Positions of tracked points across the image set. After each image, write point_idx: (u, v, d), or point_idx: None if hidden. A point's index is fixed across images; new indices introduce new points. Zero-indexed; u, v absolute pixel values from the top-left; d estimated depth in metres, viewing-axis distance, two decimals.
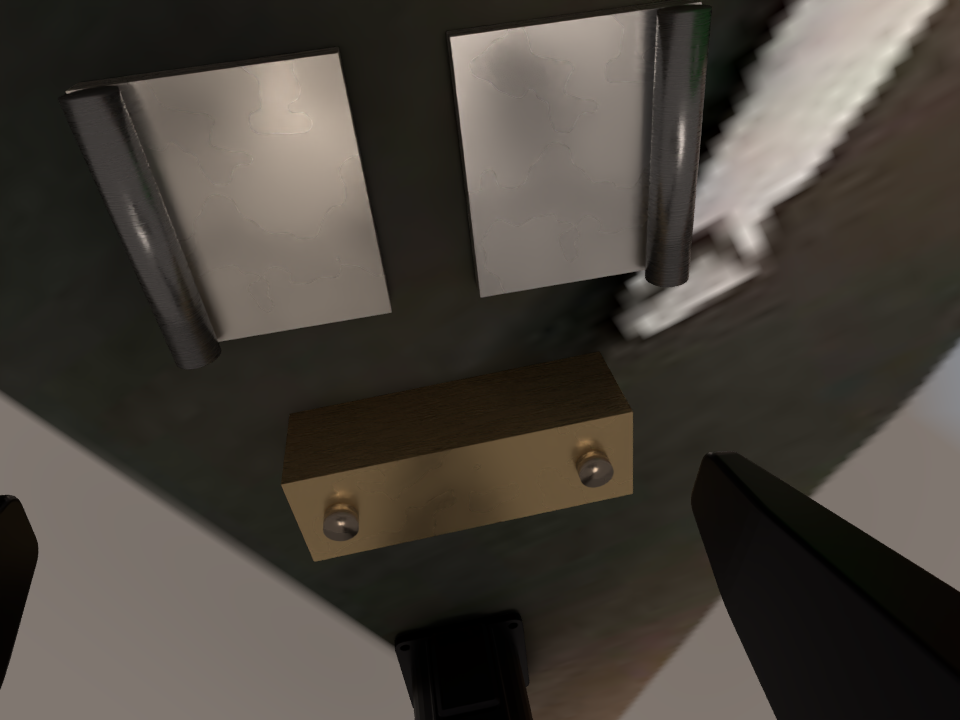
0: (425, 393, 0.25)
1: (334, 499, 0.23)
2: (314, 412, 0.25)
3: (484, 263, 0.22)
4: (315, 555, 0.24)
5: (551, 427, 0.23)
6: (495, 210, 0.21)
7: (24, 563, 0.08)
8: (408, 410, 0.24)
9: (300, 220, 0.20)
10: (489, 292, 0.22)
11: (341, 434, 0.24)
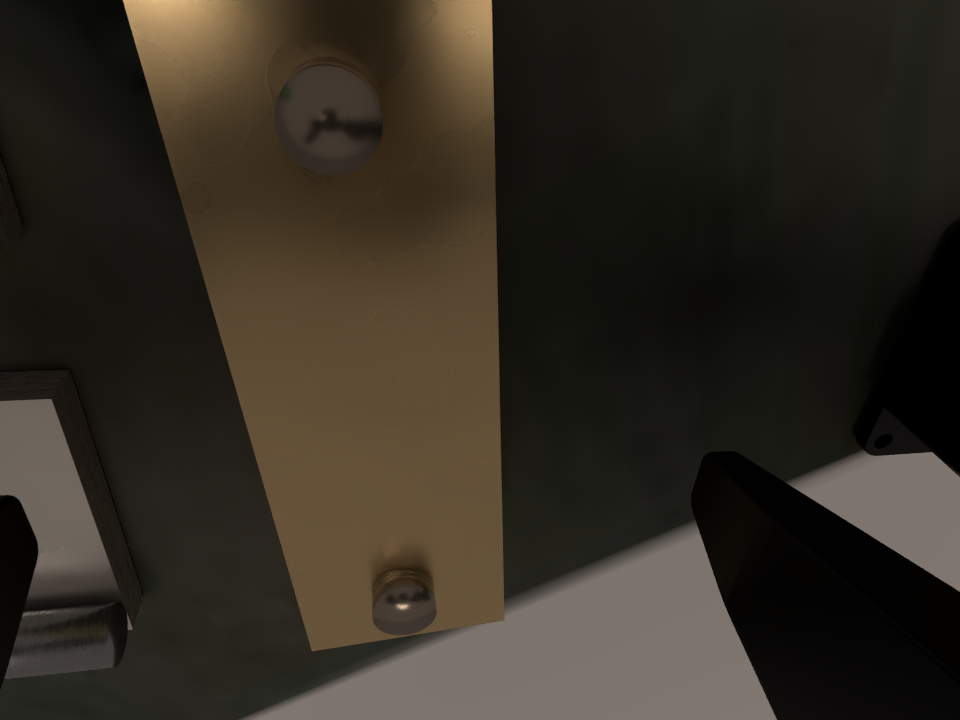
0: None
1: (358, 596, 0.13)
2: None
3: None
4: (489, 618, 0.14)
5: (190, 226, 0.09)
6: None
7: (24, 563, 0.08)
8: None
9: None
10: None
11: None
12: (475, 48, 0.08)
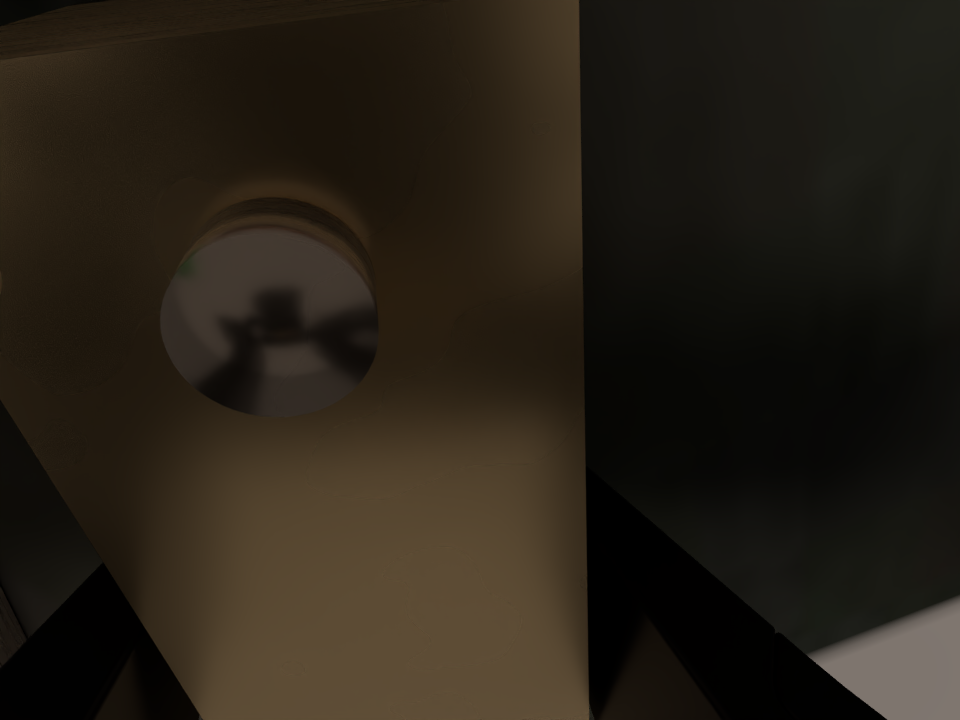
0: None
1: None
2: None
3: None
4: None
5: (59, 483, 0.05)
6: None
7: None
8: None
9: None
10: None
11: None
12: (548, 156, 0.04)
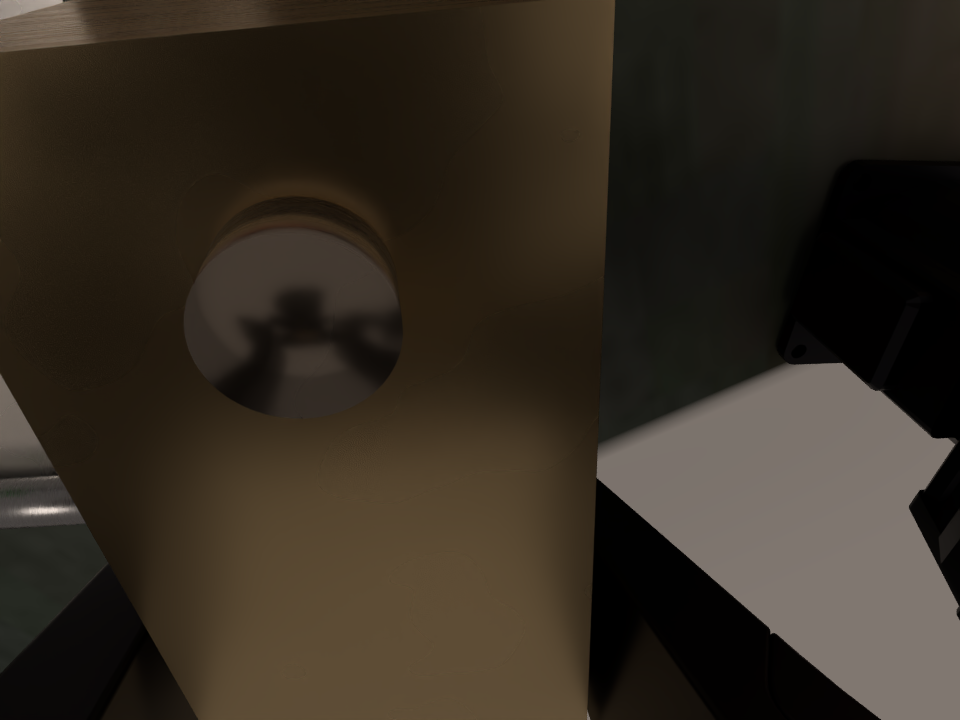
0: None
1: None
2: None
3: None
4: None
5: (67, 480, 0.05)
6: None
7: None
8: None
9: None
10: None
11: None
12: (576, 163, 0.04)
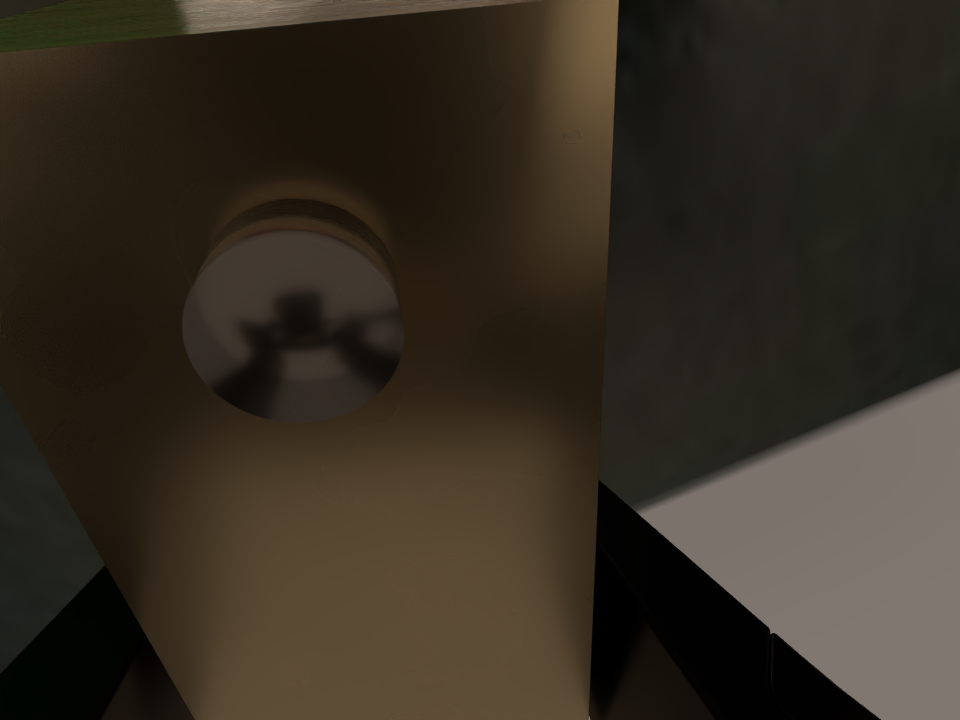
0: None
1: None
2: None
3: None
4: None
5: (65, 485, 0.05)
6: None
7: None
8: None
9: None
10: None
11: None
12: (578, 165, 0.04)
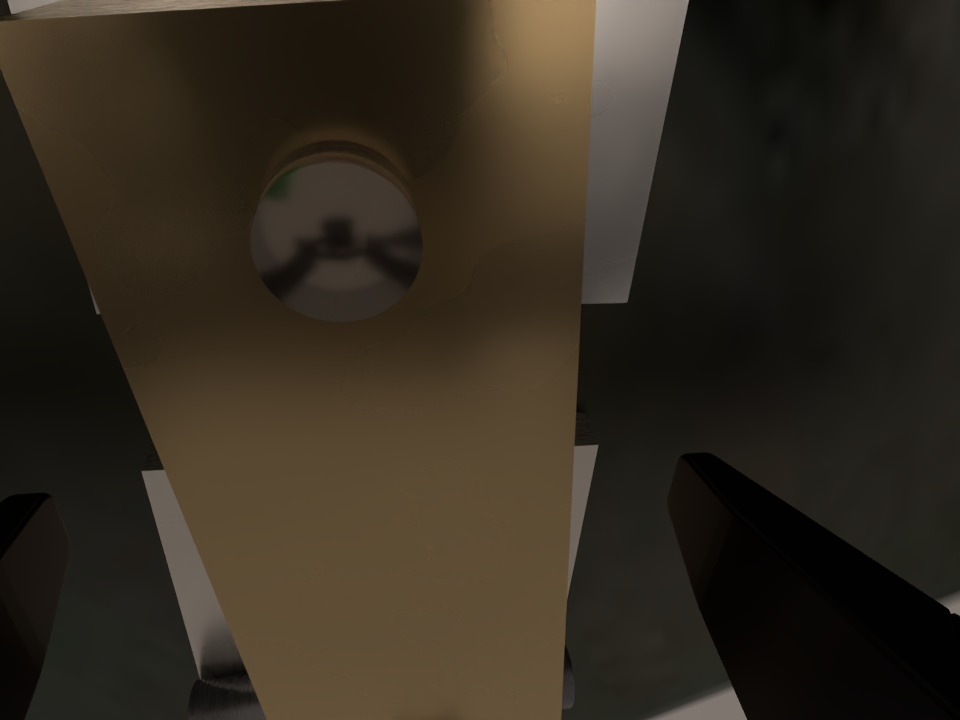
0: None
1: None
2: None
3: None
4: None
5: (131, 381, 0.06)
6: None
7: (58, 560, 0.08)
8: None
9: None
10: (623, 285, 0.11)
11: None
12: (563, 121, 0.05)
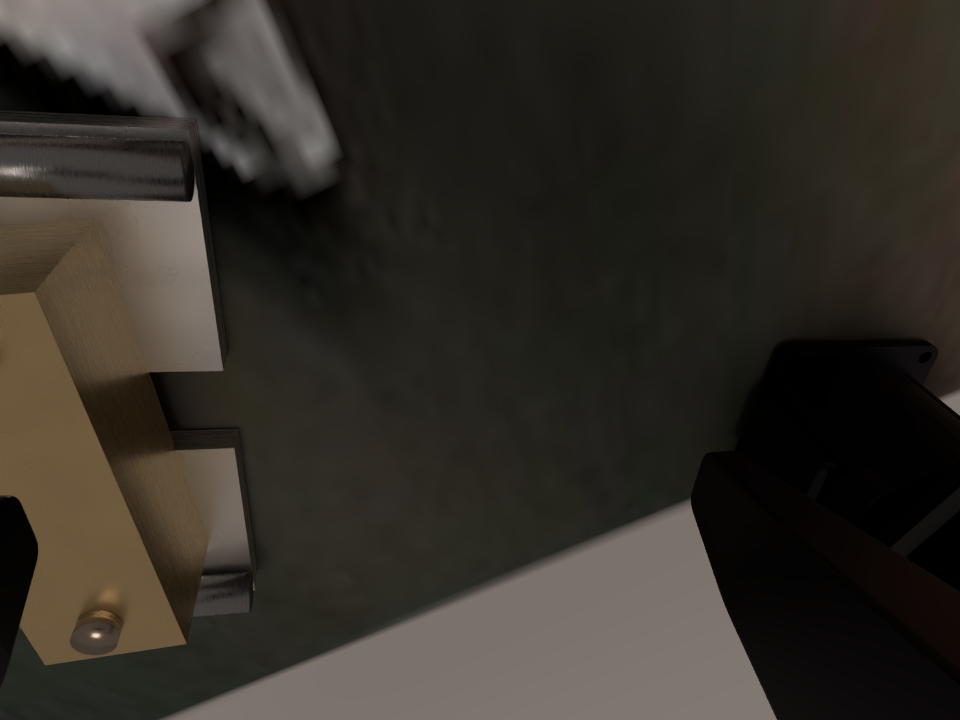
0: None
1: (68, 628, 0.19)
2: None
3: (177, 364, 0.20)
4: (174, 642, 0.20)
5: None
6: None
7: (24, 563, 0.08)
8: None
9: None
10: (217, 361, 0.20)
11: None
12: (40, 331, 0.14)
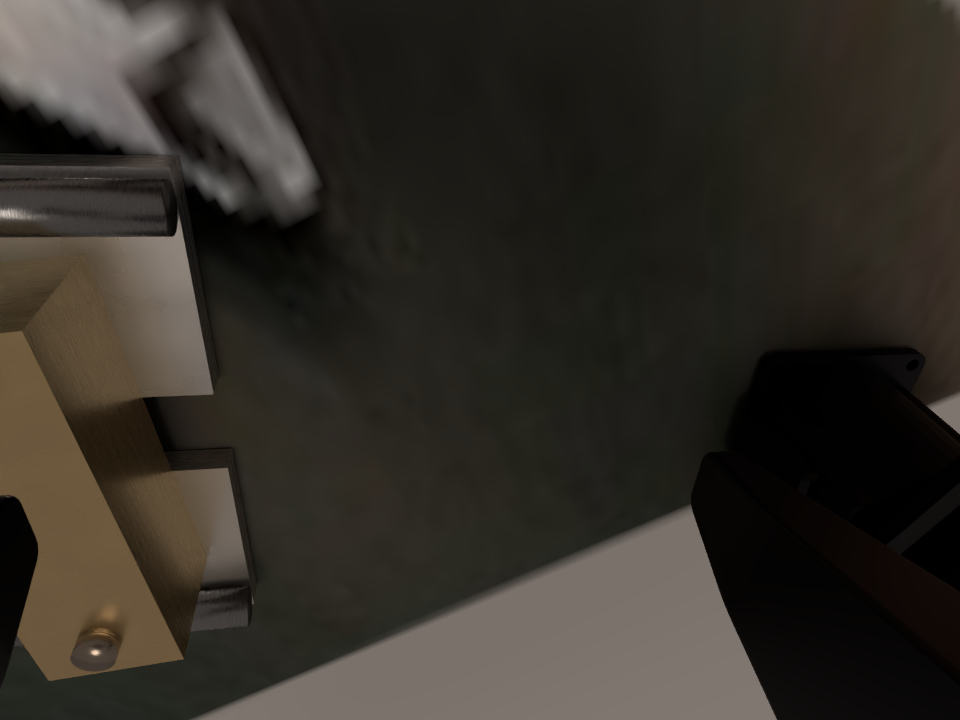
0: None
1: (69, 645, 0.20)
2: None
3: (169, 389, 0.20)
4: (171, 657, 0.21)
5: None
6: None
7: (24, 563, 0.08)
8: None
9: None
10: (207, 386, 0.20)
11: None
12: (29, 367, 0.15)
